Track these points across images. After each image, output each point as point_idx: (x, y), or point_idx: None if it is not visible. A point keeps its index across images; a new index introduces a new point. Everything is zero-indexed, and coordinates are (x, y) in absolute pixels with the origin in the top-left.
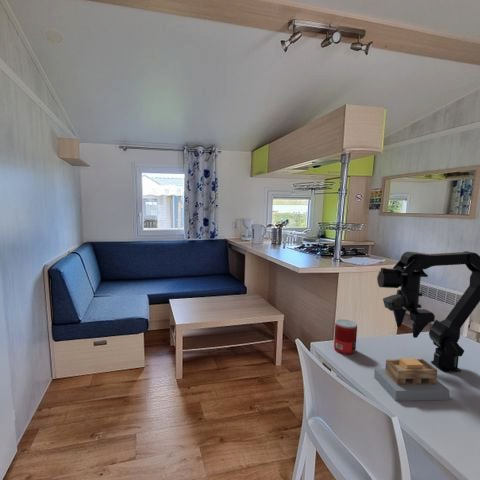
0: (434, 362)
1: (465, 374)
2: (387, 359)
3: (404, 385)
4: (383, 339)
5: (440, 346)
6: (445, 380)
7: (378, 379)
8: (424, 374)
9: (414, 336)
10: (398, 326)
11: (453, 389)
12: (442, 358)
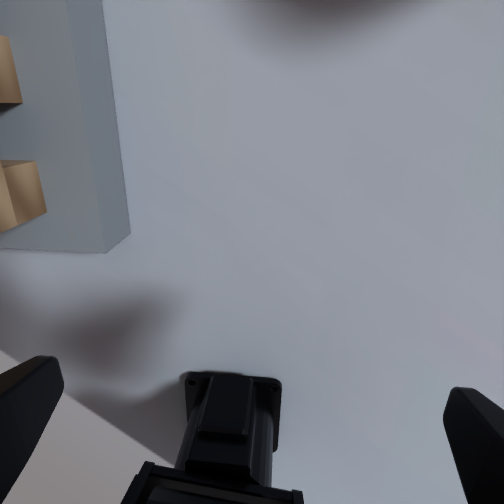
0: (240, 383)
1: (172, 436)
2: None
3: None
4: None
5: (153, 489)
6: (111, 327)
7: None
8: None
9: (19, 370)
10: (451, 400)
11: (37, 306)
12: (195, 427)
